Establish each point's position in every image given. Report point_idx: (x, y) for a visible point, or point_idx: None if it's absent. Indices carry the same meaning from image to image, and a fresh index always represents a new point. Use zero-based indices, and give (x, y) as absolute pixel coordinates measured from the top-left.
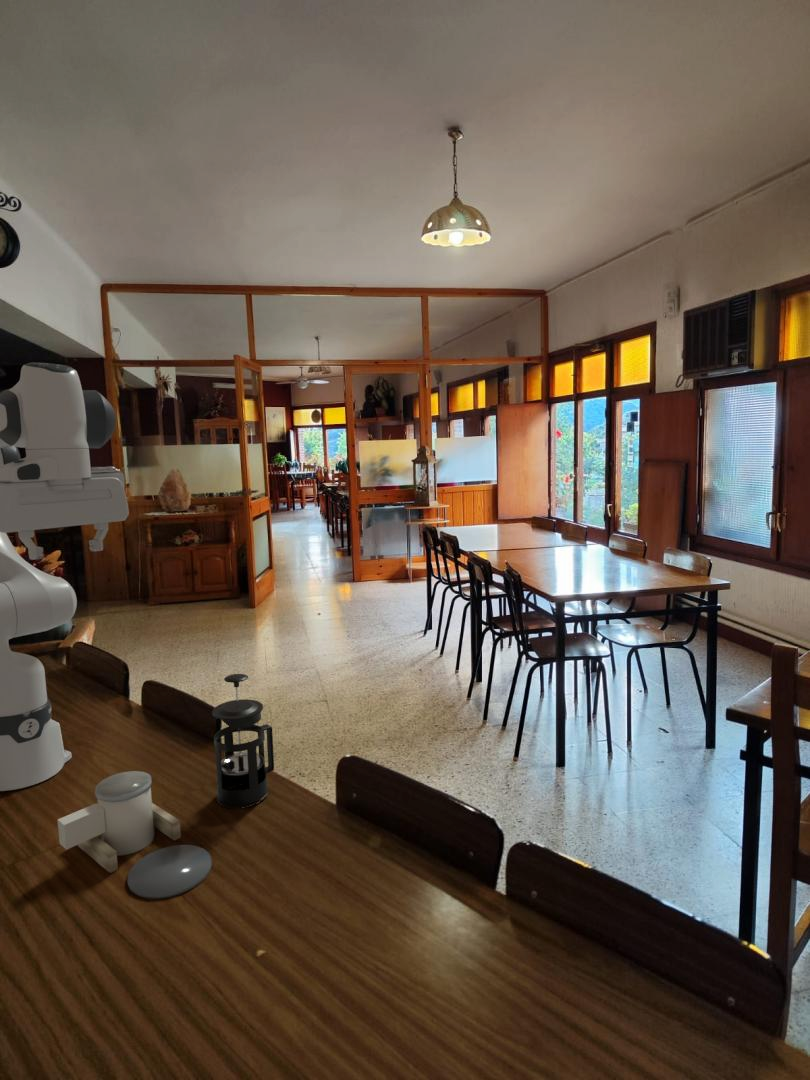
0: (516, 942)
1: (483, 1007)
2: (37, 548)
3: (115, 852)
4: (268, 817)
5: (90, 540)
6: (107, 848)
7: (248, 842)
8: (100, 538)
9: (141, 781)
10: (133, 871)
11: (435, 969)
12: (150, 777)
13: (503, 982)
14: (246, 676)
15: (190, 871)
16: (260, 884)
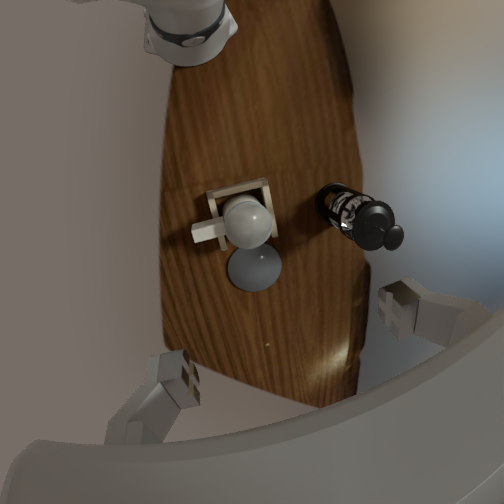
0: (342, 374)
1: (312, 388)
2: (181, 408)
3: (226, 249)
4: (332, 244)
5: (403, 312)
6: (222, 242)
7: (307, 264)
8: (422, 335)
9: (262, 231)
10: (234, 257)
11: (313, 374)
12: (271, 229)
13: (324, 384)
14: (401, 243)
15: (264, 278)
16: (291, 305)
